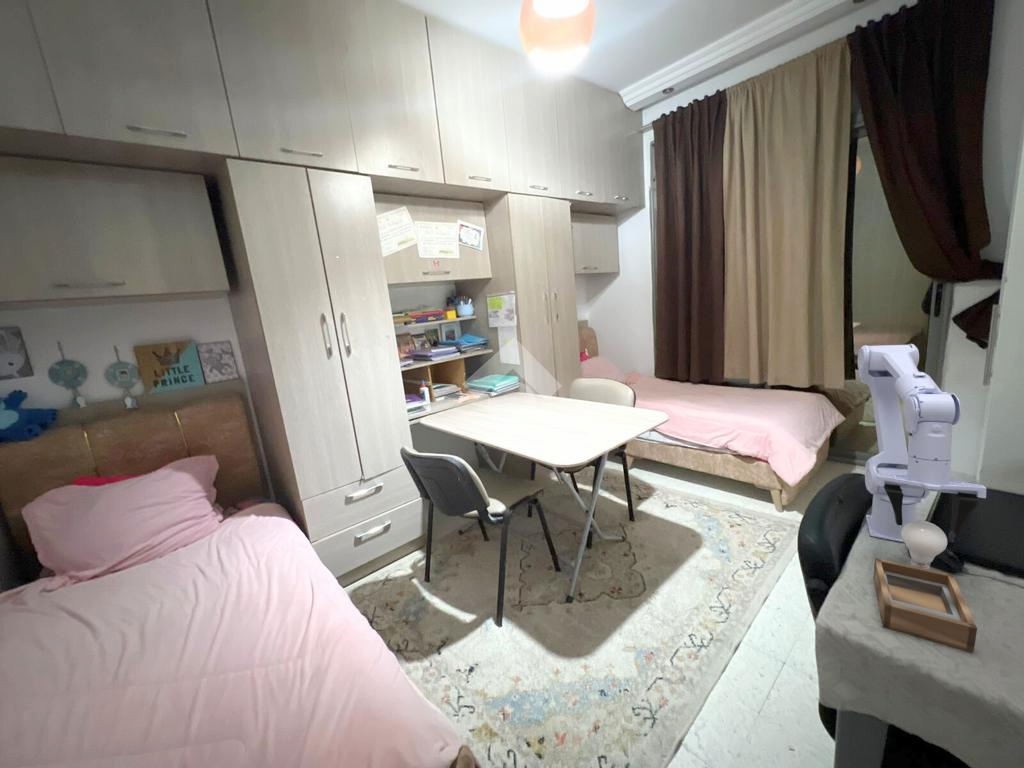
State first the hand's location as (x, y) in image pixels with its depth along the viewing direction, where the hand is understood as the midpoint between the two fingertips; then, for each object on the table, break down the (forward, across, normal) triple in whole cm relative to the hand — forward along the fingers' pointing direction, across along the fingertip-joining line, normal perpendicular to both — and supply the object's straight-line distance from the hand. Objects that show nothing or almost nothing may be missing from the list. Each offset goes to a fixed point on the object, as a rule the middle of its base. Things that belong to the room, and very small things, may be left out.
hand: (926, 527), depth 79 cm
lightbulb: (+10, 0, +3) cm, 11 cm away
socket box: (+12, -2, -9) cm, 16 cm away
